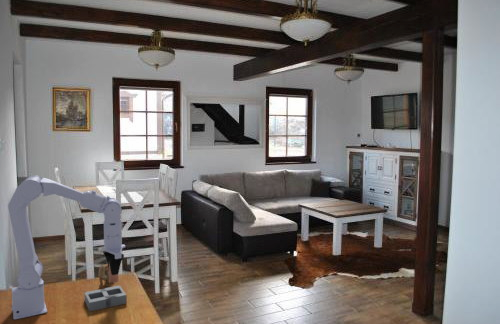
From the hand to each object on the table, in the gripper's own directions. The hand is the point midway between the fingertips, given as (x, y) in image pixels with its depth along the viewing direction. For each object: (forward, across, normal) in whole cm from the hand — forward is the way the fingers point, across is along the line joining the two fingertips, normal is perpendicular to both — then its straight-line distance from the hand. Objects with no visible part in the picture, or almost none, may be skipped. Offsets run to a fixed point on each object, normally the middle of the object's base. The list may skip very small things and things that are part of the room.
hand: (113, 272), depth 143 cm
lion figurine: (+10, +16, -2) cm, 19 cm away
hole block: (+10, 0, +3) cm, 10 cm away
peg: (+3, 0, 0) cm, 3 cm away
